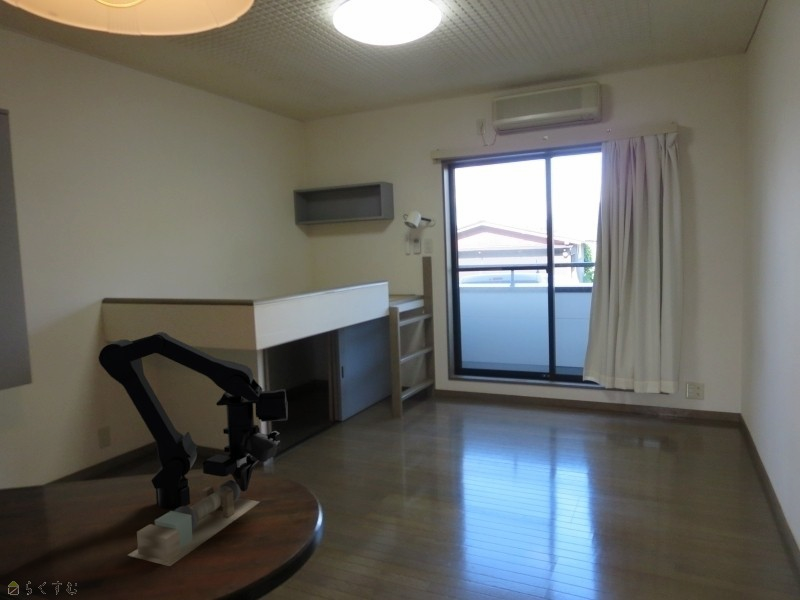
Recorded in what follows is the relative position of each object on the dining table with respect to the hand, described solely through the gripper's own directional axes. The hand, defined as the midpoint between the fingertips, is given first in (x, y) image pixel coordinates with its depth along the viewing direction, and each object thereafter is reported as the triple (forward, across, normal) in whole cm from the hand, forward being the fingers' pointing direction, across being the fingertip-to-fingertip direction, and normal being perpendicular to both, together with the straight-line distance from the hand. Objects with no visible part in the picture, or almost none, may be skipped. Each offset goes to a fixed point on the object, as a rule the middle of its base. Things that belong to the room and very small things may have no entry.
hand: (244, 490), depth 121 cm
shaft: (+1, -11, 0) cm, 11 cm away
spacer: (+1, -20, 0) cm, 21 cm away
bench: (+2, -14, 0) cm, 14 cm away
